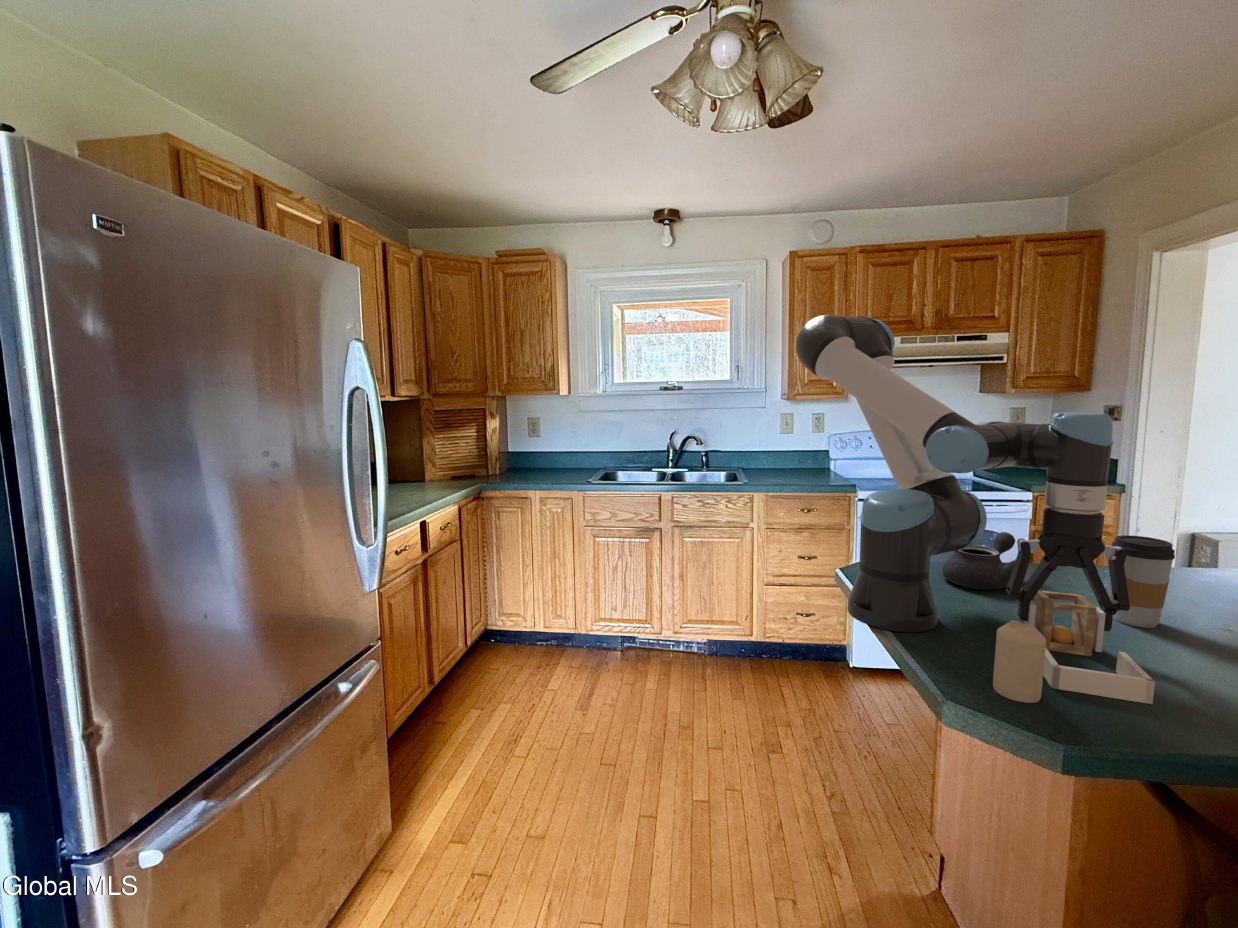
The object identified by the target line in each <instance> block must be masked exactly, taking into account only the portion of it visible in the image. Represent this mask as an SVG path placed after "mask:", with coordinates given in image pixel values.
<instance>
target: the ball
mask: <svg viewBox="0 0 1238 928" xmlns="http://www.w3.org/2000/svg"><path fill="white" fill-rule="evenodd" d="M1073 639H1074V636H1073V634H1072V632H1071V629H1070V628H1068V627H1066V626H1063V625H1055V626H1052V630H1051V641H1050V642H1056V643H1064V644H1071V645H1072V643H1073Z"/></svg>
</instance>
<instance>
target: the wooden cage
mask: <svg viewBox="0 0 1238 928" xmlns="http://www.w3.org/2000/svg"><path fill="white" fill-rule="evenodd" d="M1033 600H1034V601H1033V602H1034V604H1035V605H1036V613H1035V625H1034V627H1035V628H1036V629H1037V630H1038V631H1039V632H1040V633H1041V634H1042V635H1043V636H1044V637H1045V638H1046V649H1047V650H1048V651H1049V652H1050V651H1051V652H1057V653H1063V654H1064V653H1065V654H1070V655H1071V654H1072V655H1077V656H1078V655H1079V656H1085V657H1092V656H1093V638H1094V628H1095V618H1096V609H1097V608H1096V607H1097V606H1095V605H1094V604H1093V603H1091V602H1090V600H1089V599H1087V598H1086V597H1085V596H1084V595H1083V594H1078V593H1077V594H1075V593H1066V592H1057V591H1048V590H1047V591H1046V590H1041V589H1040V590H1039V591H1038V592H1037V594H1036V595H1035V597H1034V598H1033ZM1052 600H1057V601H1052ZM1059 600H1060V601H1068V602H1070V603H1068V602H1059ZM1071 602H1073V603H1071ZM1054 610H1056V611H1065V612H1072V618H1071V619H1072V620H1071V627H1070V628H1071V629H1070V631H1071V632H1072V634H1073V636H1074V639H1073V642H1072V643H1073V644H1072V643H1071V644H1064V643H1056V642H1052V641H1051V630H1052V627H1053V619H1054Z"/></svg>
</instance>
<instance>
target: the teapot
mask: <svg viewBox="0 0 1238 928" xmlns="http://www.w3.org/2000/svg"><path fill="white" fill-rule="evenodd" d="M992 541H993V543H992V545H993V546H992V547H988V546H982V545H974V544H972V545H970V546H967V547H965V548H963V549H960V550H958V551H953V553H952V554H951V555H950V556H949V557H948V558H947V559H946V560H945V562H944V564H943V566H942V568H941V572H942V576H943V577H944V578H945V579H946V580H947V581H949V582H951V583H953V584H957V585H958V586H962V587H966V588H968V589H969V588H970V589H975V590H983V591H984V590H998V589H1004V588H1005V587H1006V588H1007V585H1008V582H1009V579H1010V576H1011V573H1012V570H1013V567H1014V564H1015V561H1016V559H1015V558H1014V560H1013V559H1012V560H1011V561H1009V562H1005V563H1004V562H1003V561H1002V559H1001V557H1000V556H1001V555H1002V554H1004V553H1006V552H1008V551H1010V550H1011V549H1013V547H1014V546H1015V543H1016V539H1015V537H1014V535H1013V534H1011V533H1010V532H1007V531H1001V532H999V533H998V534H997V535H996V536H995V537H994V538H993V540H992Z"/></svg>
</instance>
